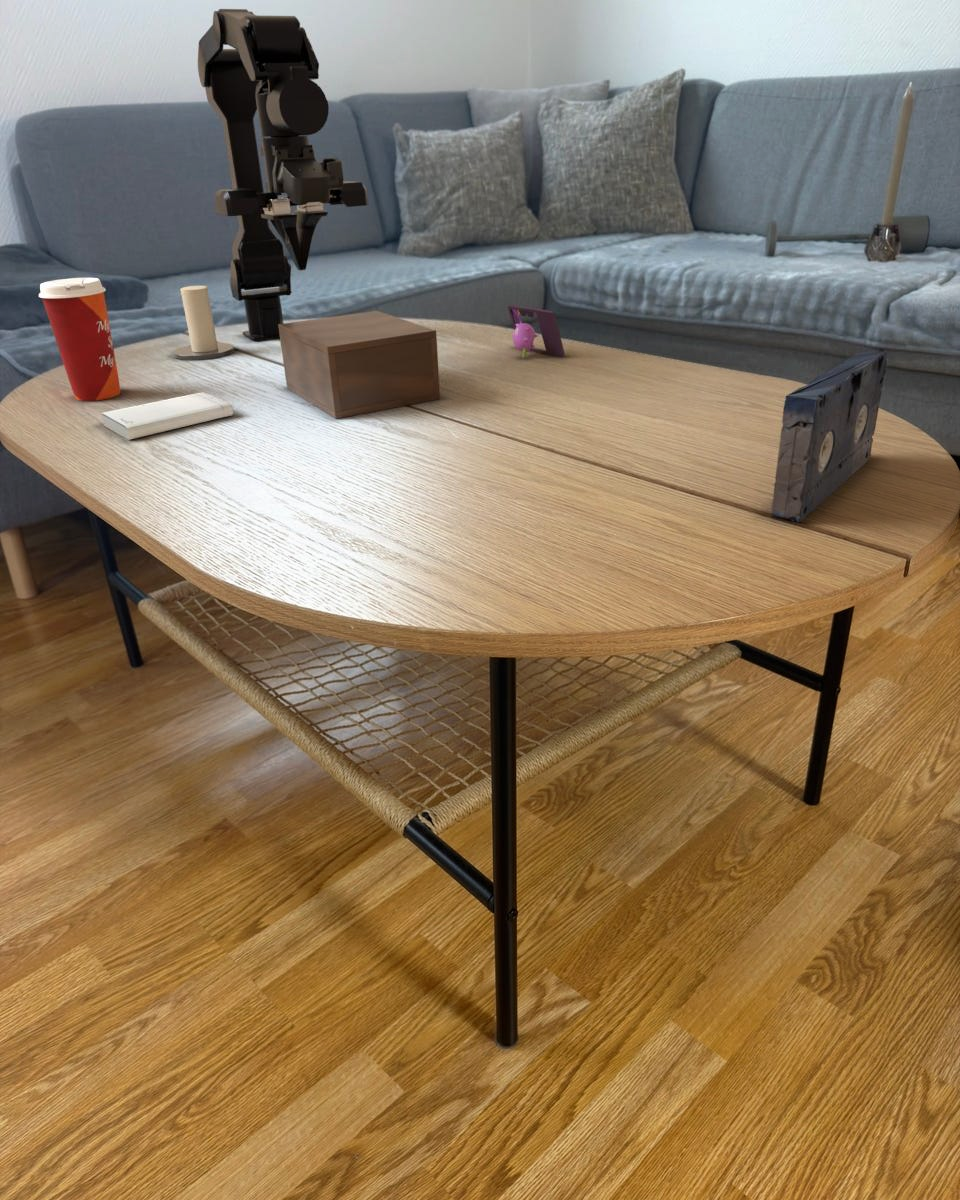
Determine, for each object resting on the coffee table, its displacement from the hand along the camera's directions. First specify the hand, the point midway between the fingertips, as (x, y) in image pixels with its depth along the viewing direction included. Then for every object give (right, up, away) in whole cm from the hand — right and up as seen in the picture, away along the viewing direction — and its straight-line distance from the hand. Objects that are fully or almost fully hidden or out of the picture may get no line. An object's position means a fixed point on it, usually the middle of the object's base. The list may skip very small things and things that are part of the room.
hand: (301, 269), depth 115 cm
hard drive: (-13, -23, -14) cm, 30 cm away
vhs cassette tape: (+54, -34, -39) cm, 75 cm away
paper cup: (-26, -17, -2) cm, 31 cm away
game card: (+31, -9, +9) cm, 33 cm away
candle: (-18, -6, +17) cm, 25 cm away
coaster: (-19, -6, +18) cm, 26 cm away
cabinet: (+9, -18, -6) cm, 21 cm away
